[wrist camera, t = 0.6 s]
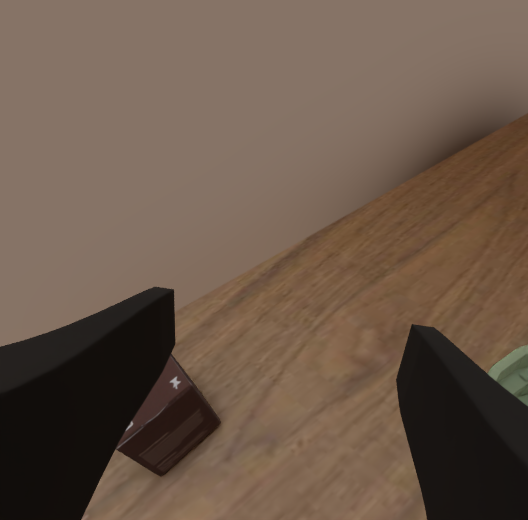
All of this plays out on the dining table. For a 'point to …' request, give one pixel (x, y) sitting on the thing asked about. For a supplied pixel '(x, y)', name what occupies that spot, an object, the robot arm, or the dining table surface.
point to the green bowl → (513, 373)
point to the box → (168, 421)
